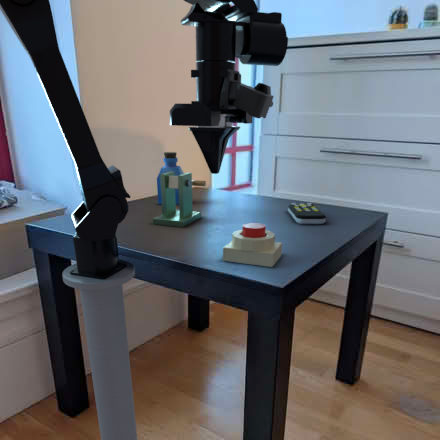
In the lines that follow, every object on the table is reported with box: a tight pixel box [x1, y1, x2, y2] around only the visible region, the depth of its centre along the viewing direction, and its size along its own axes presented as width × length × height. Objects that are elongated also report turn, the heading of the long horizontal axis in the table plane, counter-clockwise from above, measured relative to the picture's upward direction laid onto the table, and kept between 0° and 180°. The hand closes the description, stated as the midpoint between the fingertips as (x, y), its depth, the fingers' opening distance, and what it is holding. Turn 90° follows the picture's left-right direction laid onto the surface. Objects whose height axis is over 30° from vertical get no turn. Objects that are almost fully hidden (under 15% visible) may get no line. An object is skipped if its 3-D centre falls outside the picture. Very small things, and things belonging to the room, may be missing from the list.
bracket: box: [152, 171, 202, 228], centre depth 87 cm, size 9×7×10 cm
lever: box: [169, 176, 207, 189], centre depth 89 cm, size 10×6×2 cm, turn 159°
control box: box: [222, 229, 283, 268], centre depth 66 cm, size 6×8×4 cm
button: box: [241, 222, 267, 238], centre depth 65 cm, size 4×4×2 cm
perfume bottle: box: [156, 151, 184, 205], centre depth 104 cm, size 6×6×12 cm
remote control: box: [287, 202, 327, 225], centre depth 92 cm, size 6×13×2 cm, turn 1°
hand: (215, 173), depth 67 cm, fingers closed
